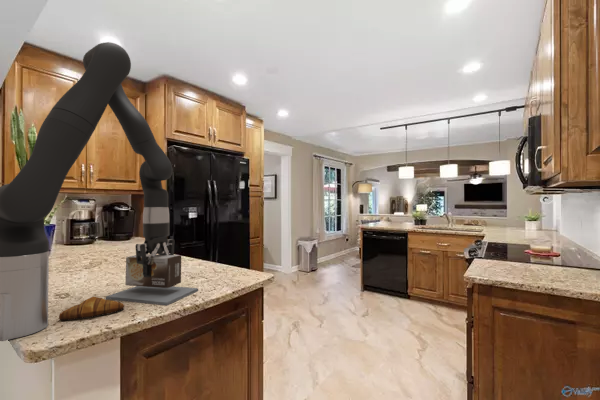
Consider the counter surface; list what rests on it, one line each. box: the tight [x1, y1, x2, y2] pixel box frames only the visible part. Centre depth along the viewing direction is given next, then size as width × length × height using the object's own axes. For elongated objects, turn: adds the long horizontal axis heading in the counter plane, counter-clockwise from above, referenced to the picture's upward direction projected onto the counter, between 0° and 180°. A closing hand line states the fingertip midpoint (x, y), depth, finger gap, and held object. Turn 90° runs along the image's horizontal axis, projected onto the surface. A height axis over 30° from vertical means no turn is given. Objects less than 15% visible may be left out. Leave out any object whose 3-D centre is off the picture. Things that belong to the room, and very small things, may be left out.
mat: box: [105, 285, 199, 306], centre depth 88 cm, size 14×22×1 cm, turn 74°
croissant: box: [58, 296, 125, 321], centre depth 72 cm, size 14×7×5 cm, turn 120°
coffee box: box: [125, 254, 182, 288], centre depth 90 cm, size 9×6×16 cm
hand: (156, 274), depth 90 cm, fingers closed on coffee box, 6 cm apart
